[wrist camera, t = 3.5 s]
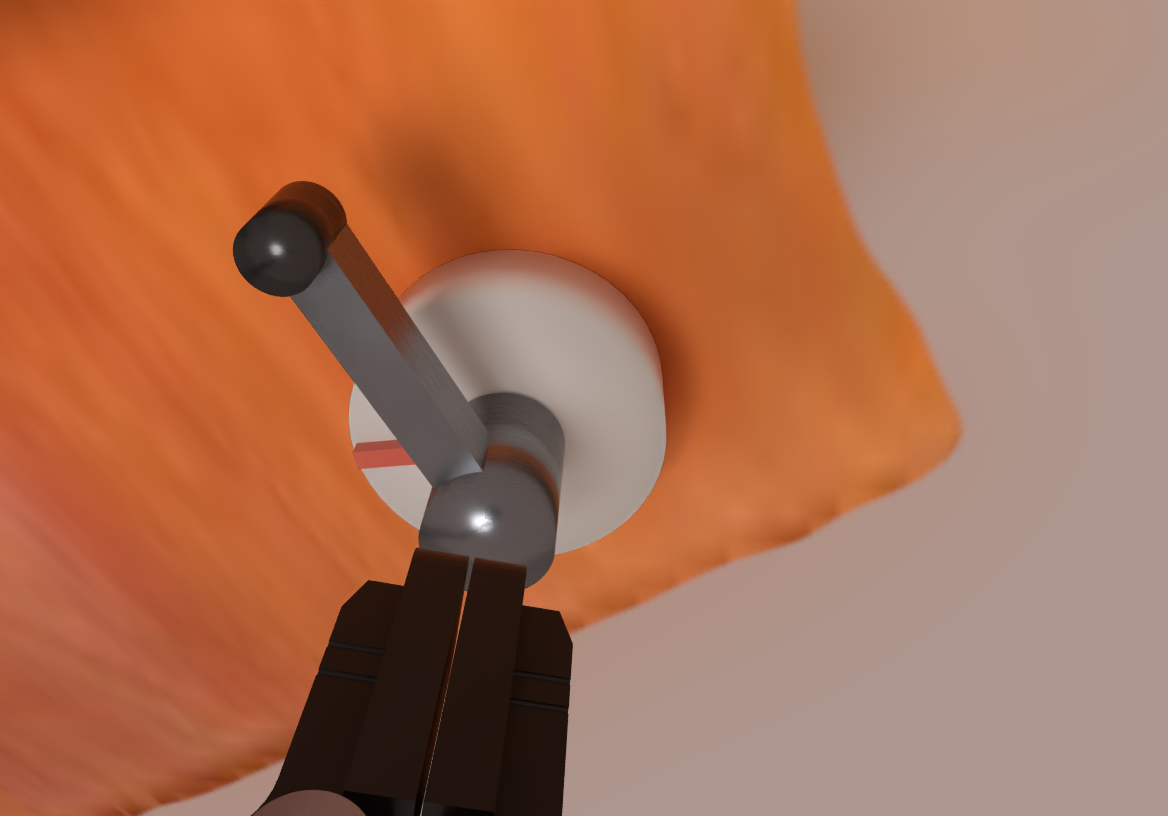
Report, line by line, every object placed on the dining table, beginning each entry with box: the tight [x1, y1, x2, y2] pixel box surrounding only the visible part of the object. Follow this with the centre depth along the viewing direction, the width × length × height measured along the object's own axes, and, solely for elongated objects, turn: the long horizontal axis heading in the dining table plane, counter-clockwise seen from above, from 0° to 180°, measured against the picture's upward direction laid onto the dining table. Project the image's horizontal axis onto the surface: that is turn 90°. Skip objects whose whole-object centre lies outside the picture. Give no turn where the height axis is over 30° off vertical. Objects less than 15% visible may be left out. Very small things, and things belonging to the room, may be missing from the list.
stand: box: [349, 250, 666, 555], centre depth 35 cm, size 12×12×5 cm
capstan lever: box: [233, 181, 565, 591], centre depth 29 cm, size 14×4×6 cm, turn 27°
